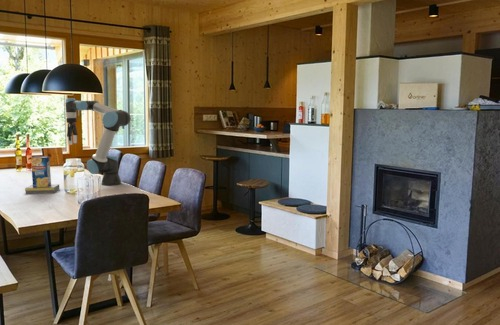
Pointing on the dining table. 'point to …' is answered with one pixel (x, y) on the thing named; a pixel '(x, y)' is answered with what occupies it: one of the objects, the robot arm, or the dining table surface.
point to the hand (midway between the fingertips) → (72, 143)
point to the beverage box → (41, 171)
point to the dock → (42, 189)
